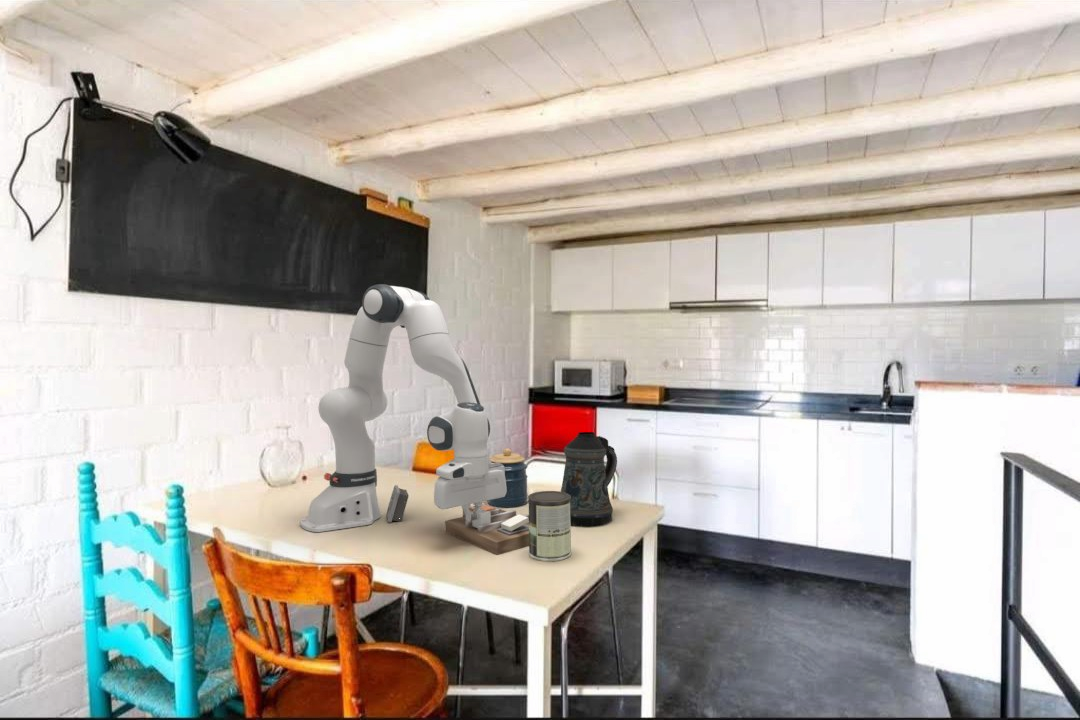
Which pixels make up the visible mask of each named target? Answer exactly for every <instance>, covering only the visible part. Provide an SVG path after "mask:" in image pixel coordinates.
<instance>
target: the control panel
mask: <svg viewBox="0 0 1080 720" xmlns="http://www.w3.org/2000/svg"><path fill="white" fill-rule="evenodd" d="M482 505H486V506H489V507H492V508H494V510H491V511H489V512H491V523H490V524H486V525H481V526H478V528H476V527H473V526H472V521H466V514H465V512H464V511H463V510H462V516H460V517H455V518H452V519H448V520H445V521H444V523H445V524H444V526H445V527H444V528H445V529H444V532H445V531H446V532H445V533H447V532H448V533H447V534H449V533H450V535H452V536H454V537H456V538H458V537H459V538H458V539H460V538H461V540H462V541H465V542H468V543H469V542H470V543H469V544H472V545H474V546H477V547H478V548H481V549H483V550H486V551H488V552H490V553H492V554H495V555H496V556H498V555H500V554H504V553H508V552H511V551H514V550H519V549H522V548H525V547H529V522H528V523H526V524H524V525H522V526H520V527H518V528H517V529H515V530H513V531H509V530H506V529H503V528H501V523H503V522H504V521H506V520H508V519H510V518H512V517H514V516H516V515H517V510H514V509H513V510H509V511H507V510H503V509H502V508H500V507H496V506H492V505H490V504H488V503H482ZM472 507H475V505H473V506H472ZM470 512H472V510H470ZM522 516H525V517H528V519H529V514H524V515H522Z"/></svg>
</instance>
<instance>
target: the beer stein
mask: <svg viewBox="0 0 1080 720" xmlns="http://www.w3.org/2000/svg"><path fill="white" fill-rule="evenodd" d="M563 448H564V449H563V451H564V456H565V464H564V470H563V478H562V484H561V489H560V492H565V493H568V494H569V495H570V496H571V500H570V516H571V527H577V528H578V527H579V528H581V527H582V528H592V527H600V526H604V525H607V524H609V523H611V521H612V515H613V512H614V507H613V506H612V502H611V500H610V496H609V494H610V493H609V488H608V487H609V485H610V483H611V481H612V480H613V477H614V475H615V474H616V470H617V466H618V457H617V454H616V452H615V448H614V447H612V446H611V445H609V440H608V439H607V438H606V437H603V436H601V435H596V433H595V432H592V431H584V432H583V431H581V432H577V435H576V437H575V438H574V439H572V440H571V441H570V442H569V443H568V444H566V445H565V447H563ZM605 456H606V464H605Z"/></svg>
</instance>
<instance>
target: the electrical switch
mask: <svg viewBox="0 0 1080 720" xmlns="http://www.w3.org/2000/svg"><path fill="white" fill-rule="evenodd" d="M408 500H409V493H408V490H407V489H403V488H399V485H396V484H395V485H394V486H393V490H392V493H391V496H390V499H389V503H388V507H387V510H386V517H387V519H386V520H387V522H388V523H391V524H392V522H393V521H394V522H403V517H404V515H405V511H406V510H405V509H406V507H407V504H408V503H407V502H408ZM399 518H400V519H399Z"/></svg>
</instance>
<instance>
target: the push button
mask: <svg viewBox="0 0 1080 720" xmlns="http://www.w3.org/2000/svg"><path fill="white" fill-rule="evenodd" d="M473 509H474V507H473V506H471V508H469V510H472V511H473ZM481 509H483V510H486V511H491V510H494V508H492V507H489V506H486V505H482V507H481Z"/></svg>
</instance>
